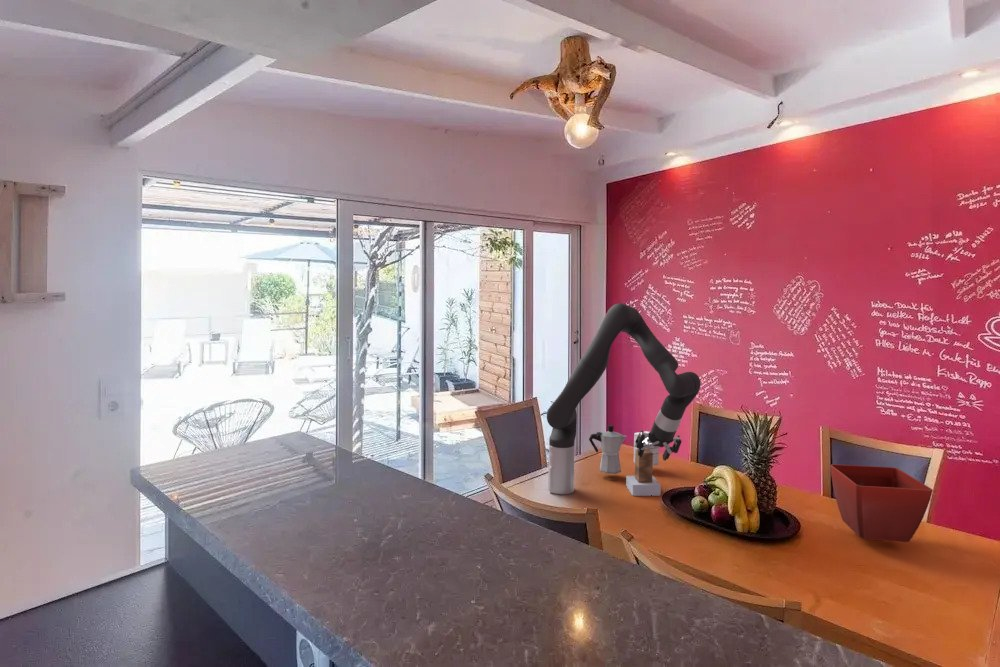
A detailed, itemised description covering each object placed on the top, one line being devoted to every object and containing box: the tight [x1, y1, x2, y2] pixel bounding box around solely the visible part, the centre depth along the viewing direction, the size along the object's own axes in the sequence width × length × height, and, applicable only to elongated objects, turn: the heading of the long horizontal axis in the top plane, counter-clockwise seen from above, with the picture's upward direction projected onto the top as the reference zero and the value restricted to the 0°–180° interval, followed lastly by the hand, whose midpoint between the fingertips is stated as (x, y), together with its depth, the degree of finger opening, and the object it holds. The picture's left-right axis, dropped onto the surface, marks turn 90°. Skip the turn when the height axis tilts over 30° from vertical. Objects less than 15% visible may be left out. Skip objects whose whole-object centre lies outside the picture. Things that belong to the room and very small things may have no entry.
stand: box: [625, 475, 662, 497], centre depth 202 cm, size 10×10×4 cm
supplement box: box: [633, 430, 660, 467], centre depth 224 cm, size 7×7×13 cm
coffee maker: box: [588, 424, 628, 475], centre depth 216 cm, size 15×9×18 cm, turn 84°
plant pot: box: [829, 463, 934, 543], centre depth 160 cm, size 19×19×17 cm
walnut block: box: [634, 449, 654, 483], centre depth 201 cm, size 5×5×11 cm
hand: (651, 457), depth 188 cm, fingers open, 8 cm apart
